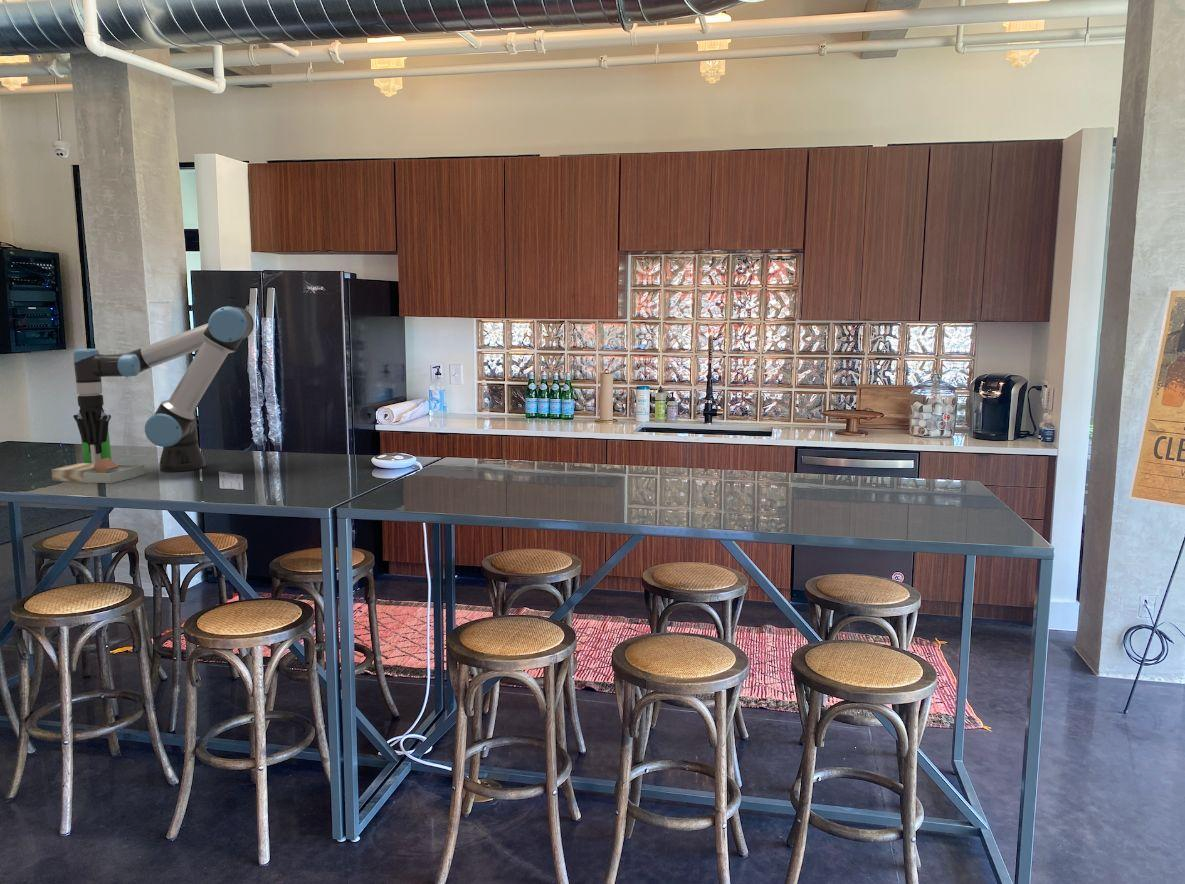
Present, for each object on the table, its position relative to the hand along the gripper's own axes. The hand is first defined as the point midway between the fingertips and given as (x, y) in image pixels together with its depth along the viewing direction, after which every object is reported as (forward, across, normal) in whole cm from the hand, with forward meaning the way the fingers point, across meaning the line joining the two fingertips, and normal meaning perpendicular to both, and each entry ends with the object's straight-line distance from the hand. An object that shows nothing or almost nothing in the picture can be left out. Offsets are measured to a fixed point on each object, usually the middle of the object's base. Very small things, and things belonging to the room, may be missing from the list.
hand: (96, 462), depth 295 cm
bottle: (+6, +14, -16) cm, 22 cm away
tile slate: (+2, -9, 0) cm, 9 cm away
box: (+5, -7, 0) cm, 9 cm away
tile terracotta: (+2, -3, 0) cm, 4 cm away
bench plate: (+6, +6, 0) cm, 8 cm away
